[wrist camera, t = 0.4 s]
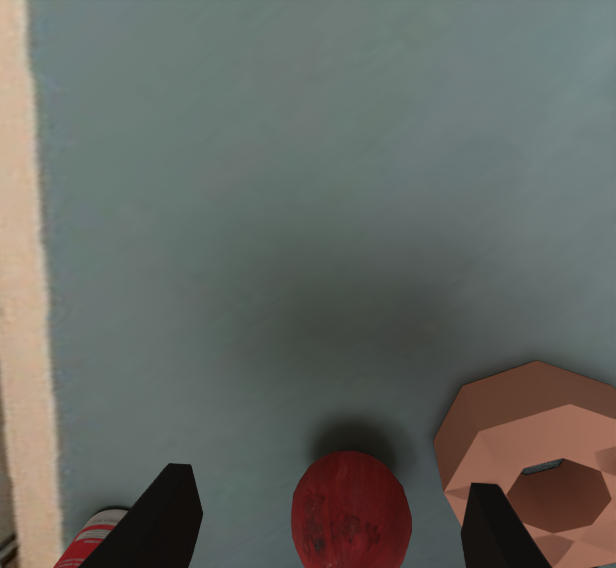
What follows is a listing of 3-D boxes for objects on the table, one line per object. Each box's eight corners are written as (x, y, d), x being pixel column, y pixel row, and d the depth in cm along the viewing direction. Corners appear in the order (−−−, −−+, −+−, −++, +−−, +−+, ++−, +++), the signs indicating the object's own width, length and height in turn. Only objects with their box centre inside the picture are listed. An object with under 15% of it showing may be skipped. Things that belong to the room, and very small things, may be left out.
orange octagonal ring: (568, 529, 23) (601, 594, 20) (414, 475, 23) (421, 530, 20) (665, 403, 20) (723, 456, 16) (485, 342, 20) (507, 382, 17)
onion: (283, 446, 24) (243, 586, 16) (364, 401, 22) (360, 535, 15) (343, 513, 25) (331, 673, 17) (425, 475, 23) (450, 636, 16)
